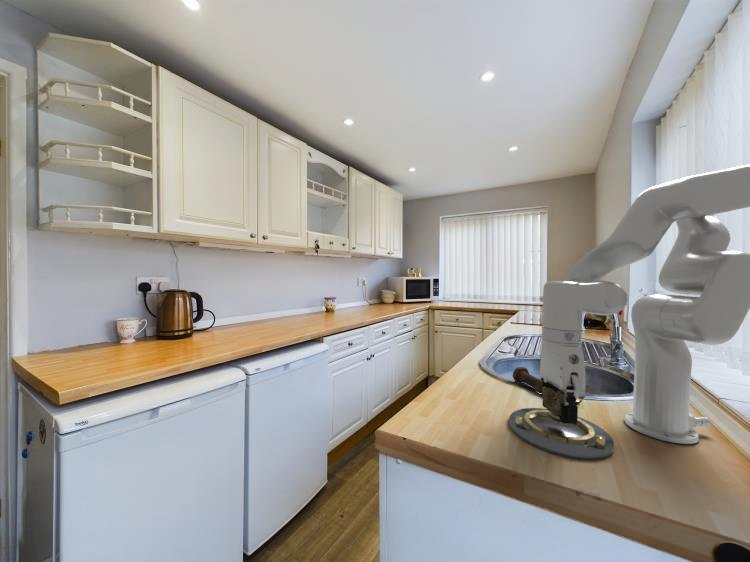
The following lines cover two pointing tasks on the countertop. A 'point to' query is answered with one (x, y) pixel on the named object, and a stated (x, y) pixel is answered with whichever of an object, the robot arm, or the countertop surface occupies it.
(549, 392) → the dark hollow rounded piece
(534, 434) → the carrier plate
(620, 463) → the countertop surface
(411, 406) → the countertop surface
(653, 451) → the countertop surface
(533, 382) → the bolt
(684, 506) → the countertop surface
